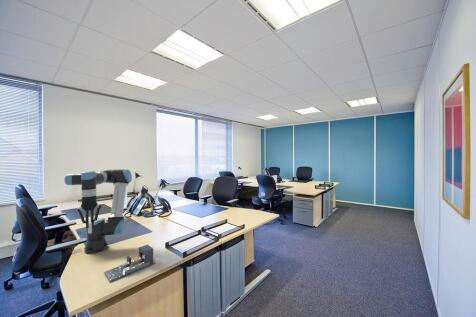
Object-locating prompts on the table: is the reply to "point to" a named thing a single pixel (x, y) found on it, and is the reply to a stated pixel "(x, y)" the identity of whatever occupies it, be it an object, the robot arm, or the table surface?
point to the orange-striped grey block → (134, 260)
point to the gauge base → (126, 269)
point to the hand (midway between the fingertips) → (89, 232)
